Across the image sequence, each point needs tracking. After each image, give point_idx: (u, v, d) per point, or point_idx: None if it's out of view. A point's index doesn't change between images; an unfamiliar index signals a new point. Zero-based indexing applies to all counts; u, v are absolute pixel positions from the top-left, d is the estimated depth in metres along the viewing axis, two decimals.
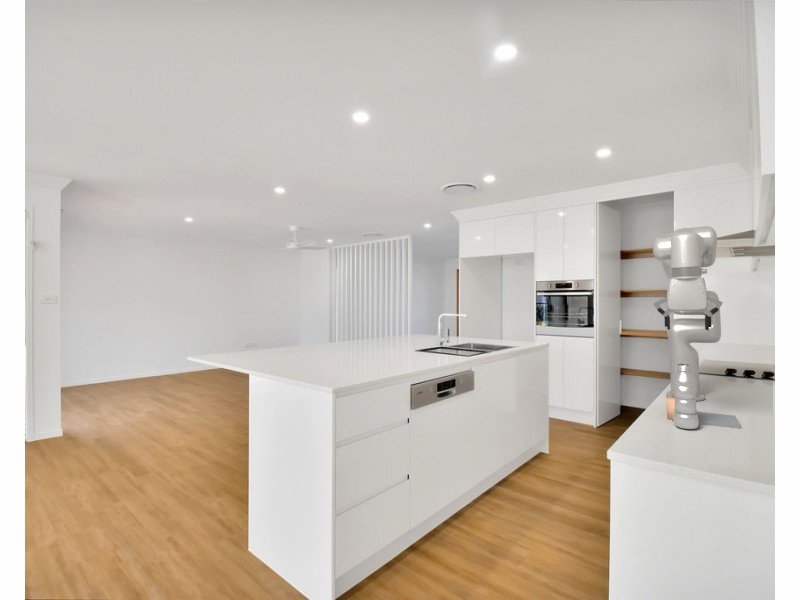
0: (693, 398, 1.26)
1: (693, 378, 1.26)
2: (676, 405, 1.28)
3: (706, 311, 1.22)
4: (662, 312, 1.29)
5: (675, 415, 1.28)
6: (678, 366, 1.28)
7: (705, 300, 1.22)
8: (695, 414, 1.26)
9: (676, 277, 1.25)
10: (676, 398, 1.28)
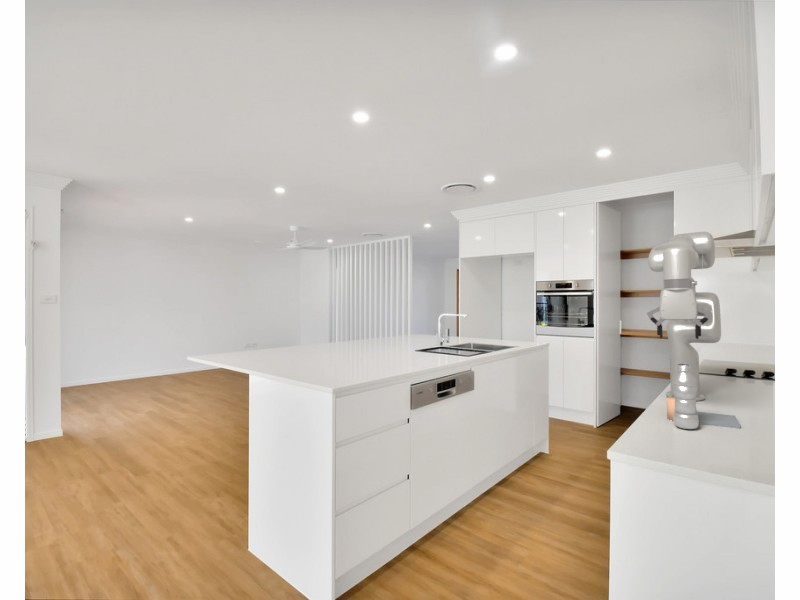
0: (693, 398, 1.26)
1: (693, 378, 1.26)
2: (676, 405, 1.28)
3: (696, 321, 1.29)
4: (655, 321, 1.36)
5: (675, 415, 1.28)
6: (678, 366, 1.28)
7: (695, 310, 1.29)
8: (695, 414, 1.26)
9: (668, 288, 1.32)
10: (676, 398, 1.28)
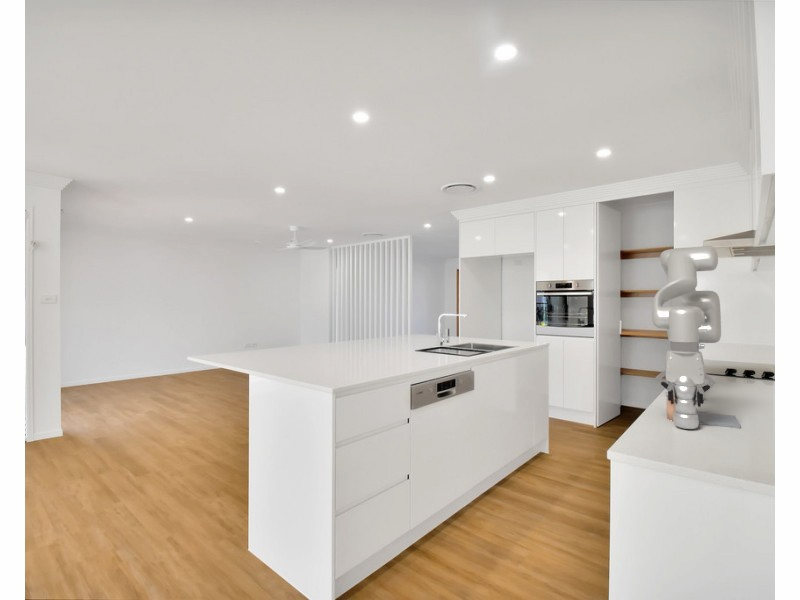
0: (693, 398, 1.26)
1: None
2: (676, 405, 1.28)
3: (699, 388, 1.25)
4: (665, 387, 1.30)
5: (675, 415, 1.28)
6: None
7: (702, 375, 1.24)
8: (695, 414, 1.26)
9: (674, 351, 1.27)
10: (676, 398, 1.28)
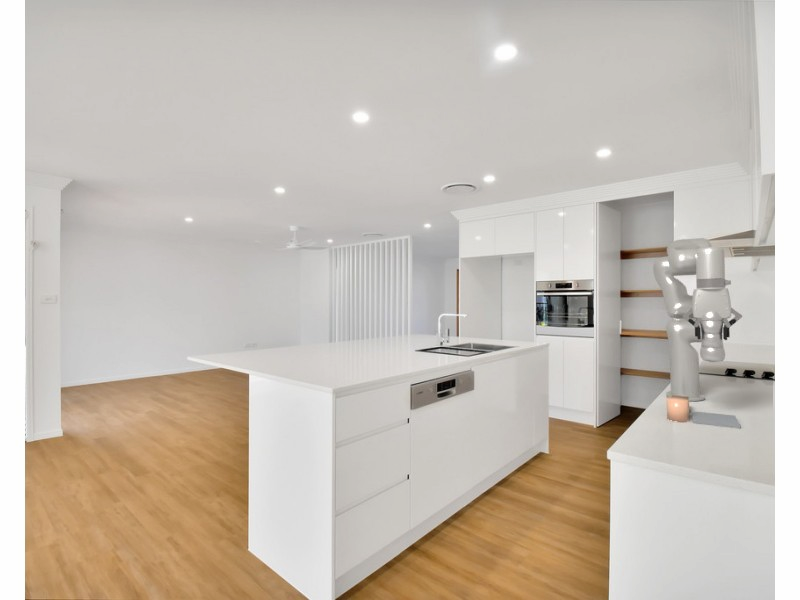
0: (720, 332, 1.32)
1: None
2: (703, 340, 1.35)
3: (726, 322, 1.31)
4: (692, 323, 1.37)
5: (702, 349, 1.35)
6: None
7: (729, 309, 1.30)
8: (722, 347, 1.32)
9: (701, 288, 1.33)
10: (703, 333, 1.34)
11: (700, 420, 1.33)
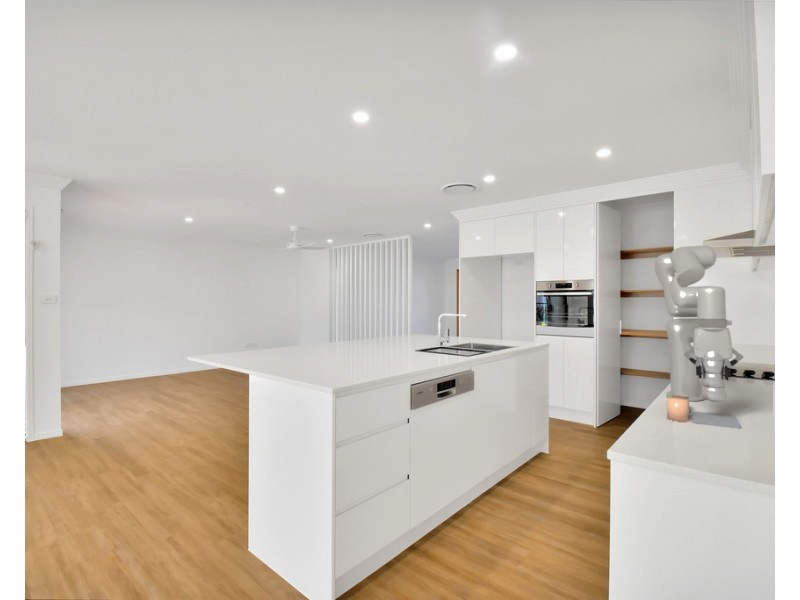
0: (721, 372, 1.32)
1: None
2: (704, 379, 1.35)
3: (727, 362, 1.31)
4: (693, 362, 1.37)
5: (703, 389, 1.35)
6: None
7: (730, 350, 1.30)
8: (723, 387, 1.32)
9: (702, 327, 1.33)
10: (704, 372, 1.34)
11: (700, 420, 1.33)
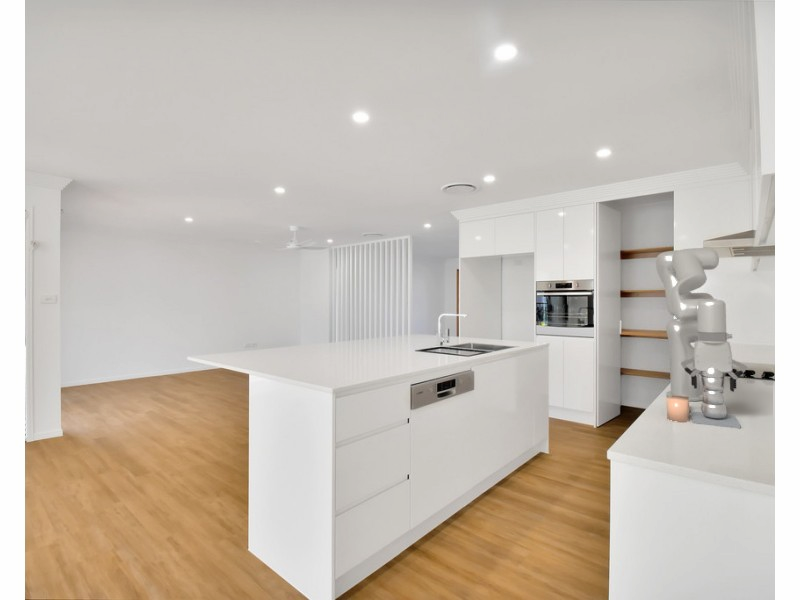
0: (721, 389, 1.32)
1: None
2: (704, 396, 1.35)
3: (731, 374, 1.31)
4: (689, 372, 1.37)
5: (703, 405, 1.35)
6: None
7: (731, 364, 1.30)
8: (723, 404, 1.32)
9: (703, 341, 1.33)
10: (704, 389, 1.35)
11: (700, 420, 1.33)
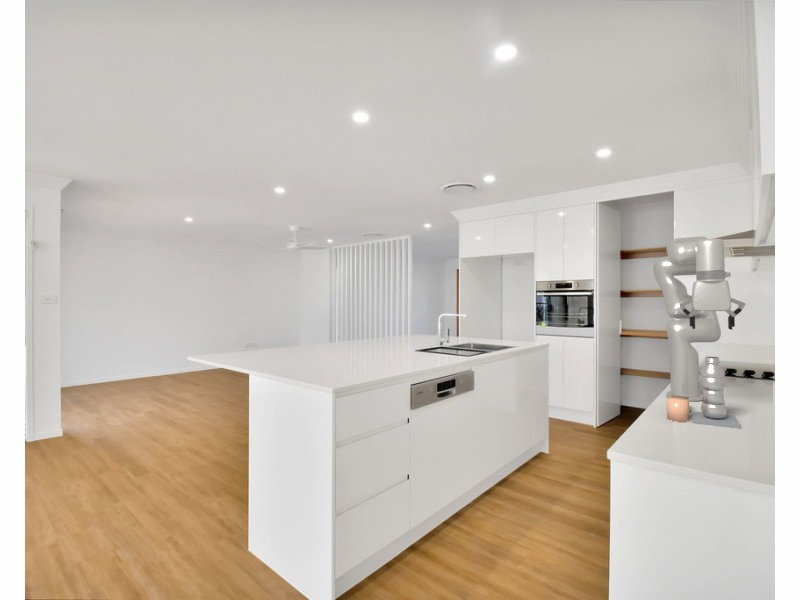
0: (721, 389, 1.32)
1: (721, 370, 1.32)
2: (704, 396, 1.35)
3: (730, 312, 1.31)
4: (687, 312, 1.37)
5: (703, 405, 1.35)
6: (706, 359, 1.35)
7: (729, 301, 1.30)
8: (723, 404, 1.32)
9: (701, 280, 1.33)
10: (704, 389, 1.35)
11: (700, 420, 1.33)
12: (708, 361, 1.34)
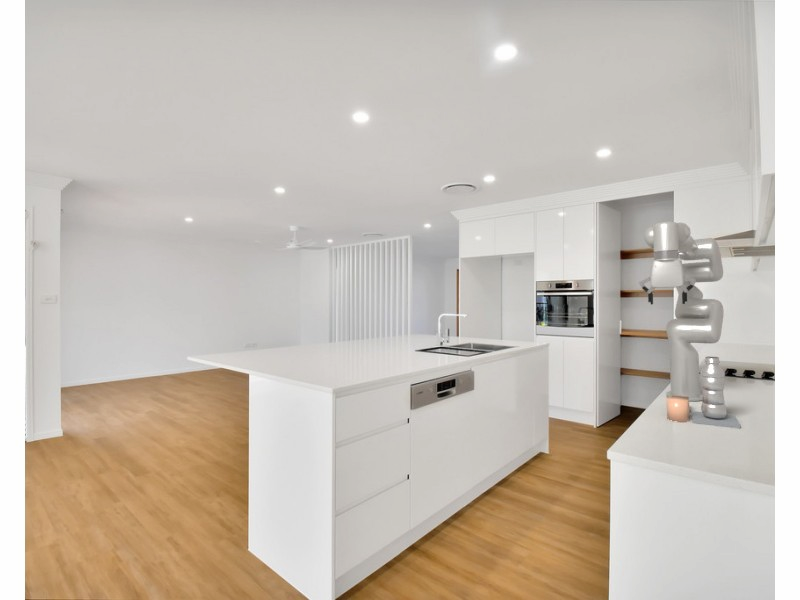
0: (721, 389, 1.32)
1: (721, 370, 1.32)
2: (704, 396, 1.35)
3: (683, 288, 1.44)
4: (646, 290, 1.50)
5: (703, 405, 1.35)
6: (706, 359, 1.35)
7: (682, 278, 1.43)
8: (723, 404, 1.32)
9: (657, 259, 1.46)
10: (704, 389, 1.35)
11: (700, 420, 1.33)
12: (708, 361, 1.34)
